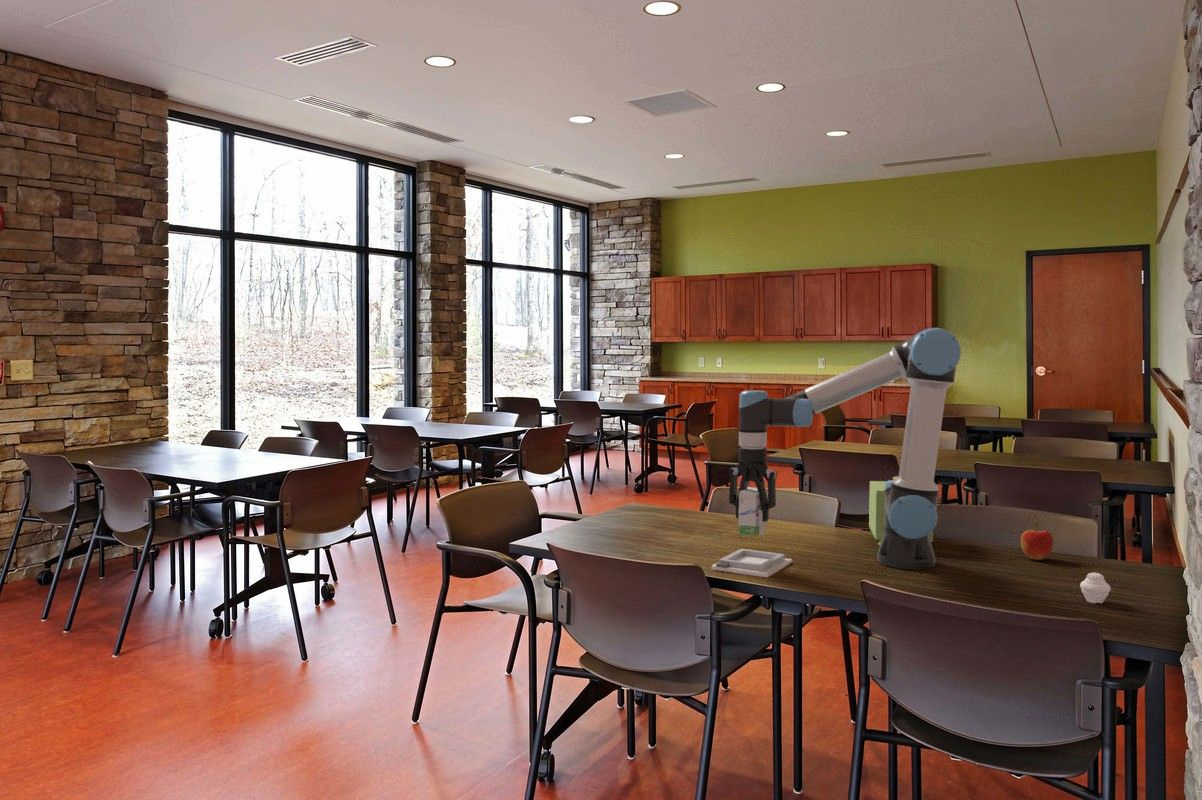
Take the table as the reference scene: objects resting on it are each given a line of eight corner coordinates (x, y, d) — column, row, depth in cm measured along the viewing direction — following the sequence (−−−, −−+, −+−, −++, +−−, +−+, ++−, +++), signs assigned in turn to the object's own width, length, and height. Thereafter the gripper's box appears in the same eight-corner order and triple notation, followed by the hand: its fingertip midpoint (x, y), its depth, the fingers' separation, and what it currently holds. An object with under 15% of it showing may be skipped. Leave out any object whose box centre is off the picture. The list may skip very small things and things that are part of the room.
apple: (1022, 561, 237) (1022, 526, 236) (1018, 554, 244) (1019, 520, 244) (1054, 564, 234) (1055, 527, 233) (1050, 557, 241) (1051, 522, 241)
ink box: (755, 536, 229) (756, 493, 228) (738, 534, 231) (738, 491, 230) (765, 530, 236) (765, 488, 235) (747, 528, 238) (748, 486, 238)
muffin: (1081, 604, 198) (1082, 574, 197) (1077, 596, 203) (1078, 567, 203) (1112, 606, 195) (1113, 576, 195) (1107, 599, 201) (1108, 570, 201)
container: (868, 533, 273) (869, 471, 272) (922, 535, 270) (923, 473, 269) (875, 547, 254) (876, 481, 253) (933, 549, 251) (934, 482, 250)
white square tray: (791, 562, 237) (791, 553, 237) (766, 577, 222) (767, 568, 222) (738, 555, 246) (738, 546, 246) (711, 569, 231) (711, 560, 230)
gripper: (789, 448, 230) (788, 533, 232) (727, 443, 240) (726, 525, 242) (779, 450, 224) (778, 538, 225) (716, 446, 234) (715, 530, 235)
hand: (751, 531), depth 233 cm, fingers closed on ink box, 5 cm apart
